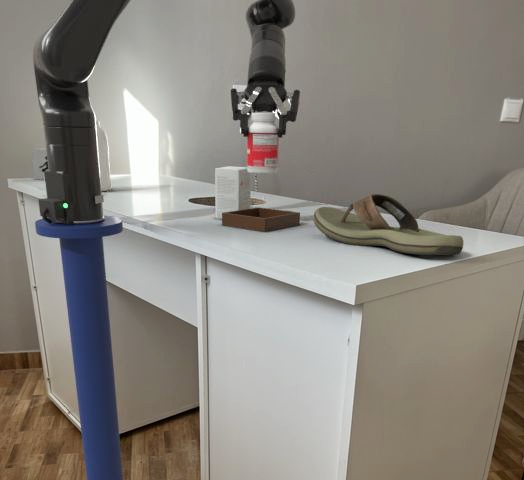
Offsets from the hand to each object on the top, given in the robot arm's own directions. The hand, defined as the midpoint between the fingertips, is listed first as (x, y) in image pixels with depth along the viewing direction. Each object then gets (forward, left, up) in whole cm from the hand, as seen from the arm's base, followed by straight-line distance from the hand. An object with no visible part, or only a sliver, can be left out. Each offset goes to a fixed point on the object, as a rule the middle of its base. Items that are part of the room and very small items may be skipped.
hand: (262, 133), depth 106 cm
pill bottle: (+1, +1, -8) cm, 8 cm away
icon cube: (+29, +118, -18) cm, 123 cm away
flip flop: (-1, -27, -18) cm, 33 cm away
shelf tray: (+1, +1, -18) cm, 18 cm away
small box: (+5, +12, -18) cm, 22 cm away
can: (+15, +77, -18) cm, 81 cm away
